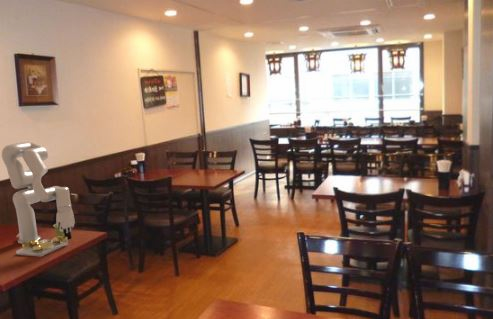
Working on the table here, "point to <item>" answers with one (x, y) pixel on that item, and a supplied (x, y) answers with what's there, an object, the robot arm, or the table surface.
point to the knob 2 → (60, 239)
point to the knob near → (29, 243)
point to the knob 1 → (42, 245)
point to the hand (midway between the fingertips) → (68, 238)
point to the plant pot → (58, 231)
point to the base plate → (44, 251)
